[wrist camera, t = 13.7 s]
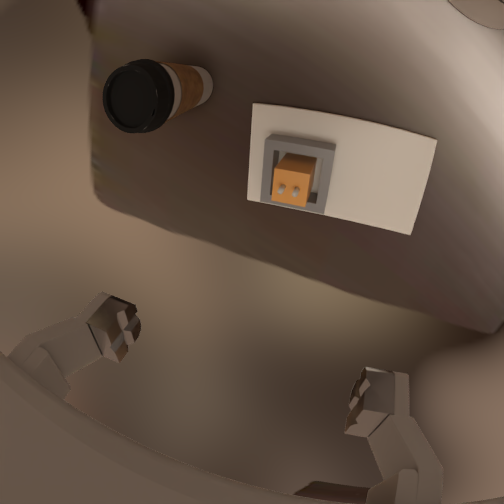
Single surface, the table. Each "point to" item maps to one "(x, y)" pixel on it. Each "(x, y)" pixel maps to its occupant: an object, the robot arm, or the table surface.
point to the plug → (293, 179)
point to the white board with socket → (343, 164)
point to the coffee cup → (153, 93)
